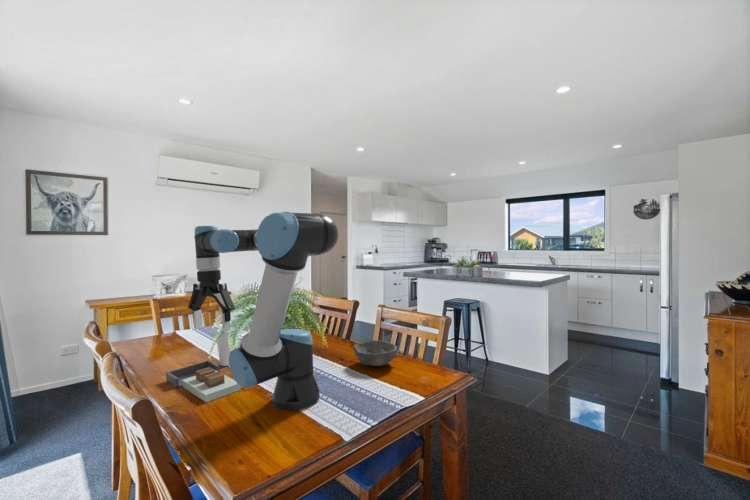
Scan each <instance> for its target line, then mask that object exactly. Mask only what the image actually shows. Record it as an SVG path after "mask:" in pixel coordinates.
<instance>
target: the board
mask: <svg viewBox="0 0 750 500" xmlns="http://www.w3.org/2000/svg"><path fill="white" fill-rule="evenodd" d="M215 372H218V371H216V370H215ZM224 381H225V383H223V384H220V385H218V386H215V387H212V388H210V387H208V386H206V385H205V384H204V382H202V383H201V382H200V381H198V380H197V379H196V376H193V377H190V378H187V379H183V380H182V387H181V388H184V389H185V390H187V391H188V392H190V393H191V394H193V395H194V396H196V397H197V398H199V399H200V400H201V401H202V402H204V403H209V402H212V401H214V400H217V399H220V398H222V397H226V396H229V395H230V394H233V393H236V392H238V391H241V386H240V385H238V384H237V382H236V381H235V379H234V378H231V377H229V376H228V375H226V374H224Z"/></svg>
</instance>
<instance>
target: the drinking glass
mask: <svg viewBox="0 0 750 500" xmlns="http://www.w3.org/2000/svg"><path fill="white" fill-rule="evenodd" d="M221 329H222V328H219V329H217V330H216V336H217V335H218V333H219V332H220V331H221ZM228 335H229V333H228V331H227V332H225V334H224V335H222V336H221V337H220V338H219V339H218V340H217V339H216V347H217V352H218V359H219V366H220V367H228V366H229V354H230V352H231V351H230V349H229V345H228ZM229 367H230V366H229Z"/></svg>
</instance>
